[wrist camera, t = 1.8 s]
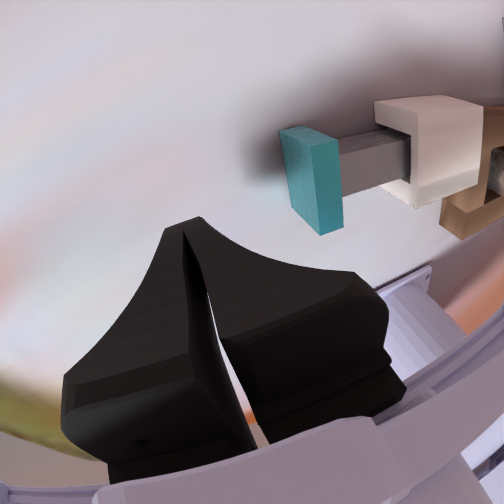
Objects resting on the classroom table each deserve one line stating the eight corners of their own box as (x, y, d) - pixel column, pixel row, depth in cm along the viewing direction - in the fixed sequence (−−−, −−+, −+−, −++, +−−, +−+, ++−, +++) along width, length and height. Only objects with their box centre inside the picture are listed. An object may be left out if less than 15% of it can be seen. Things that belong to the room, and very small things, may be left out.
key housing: (441, 165, 18) (477, 184, 15) (377, 185, 17) (415, 208, 14) (442, 94, 15) (483, 106, 12) (373, 101, 14) (417, 113, 11)
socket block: (495, 197, 22) (514, 209, 20) (439, 224, 21) (461, 240, 19) (504, 104, 17) (528, 113, 15) (447, 108, 15) (476, 118, 13)
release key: (399, 173, 16) (434, 193, 14) (291, 207, 15) (320, 235, 13) (398, 108, 14) (438, 120, 12) (279, 131, 13) (310, 146, 11)
